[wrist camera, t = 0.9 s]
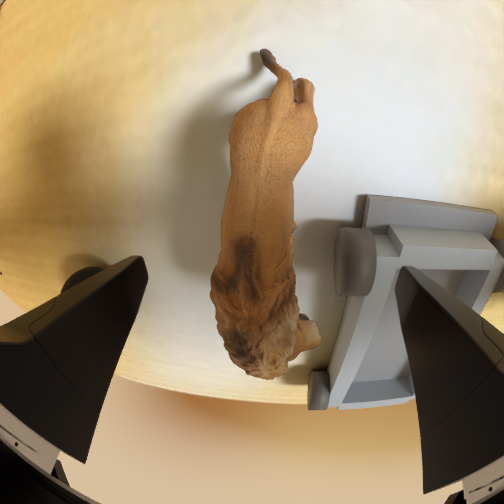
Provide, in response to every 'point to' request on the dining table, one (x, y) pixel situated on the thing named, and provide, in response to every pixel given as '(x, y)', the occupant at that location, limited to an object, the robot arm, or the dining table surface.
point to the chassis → (383, 291)
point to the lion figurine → (264, 230)
